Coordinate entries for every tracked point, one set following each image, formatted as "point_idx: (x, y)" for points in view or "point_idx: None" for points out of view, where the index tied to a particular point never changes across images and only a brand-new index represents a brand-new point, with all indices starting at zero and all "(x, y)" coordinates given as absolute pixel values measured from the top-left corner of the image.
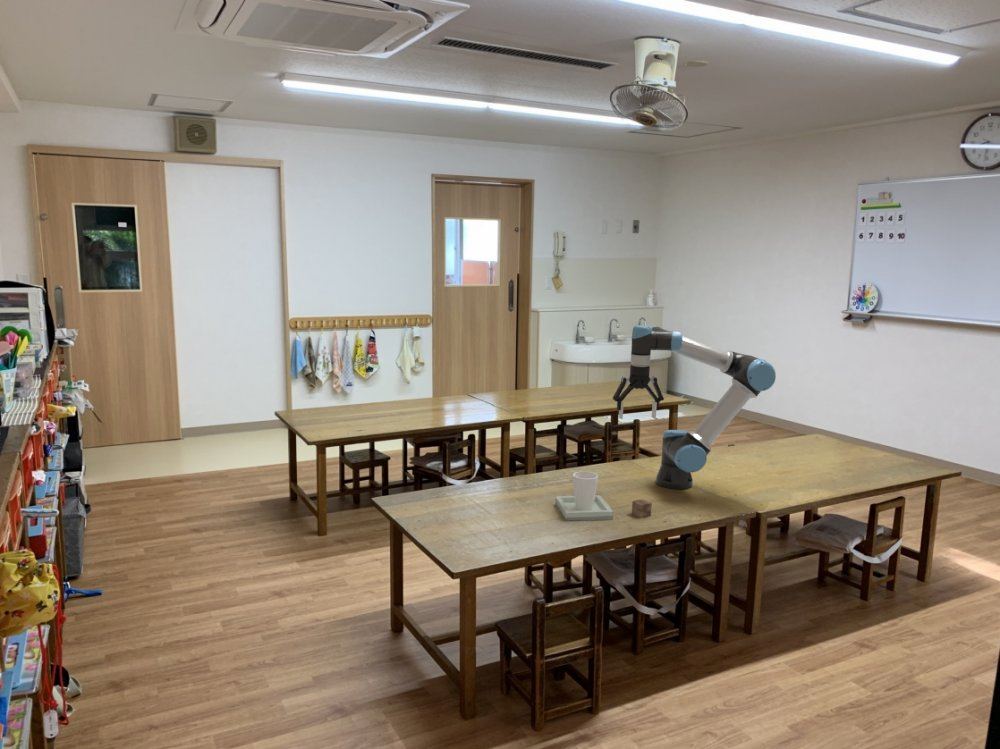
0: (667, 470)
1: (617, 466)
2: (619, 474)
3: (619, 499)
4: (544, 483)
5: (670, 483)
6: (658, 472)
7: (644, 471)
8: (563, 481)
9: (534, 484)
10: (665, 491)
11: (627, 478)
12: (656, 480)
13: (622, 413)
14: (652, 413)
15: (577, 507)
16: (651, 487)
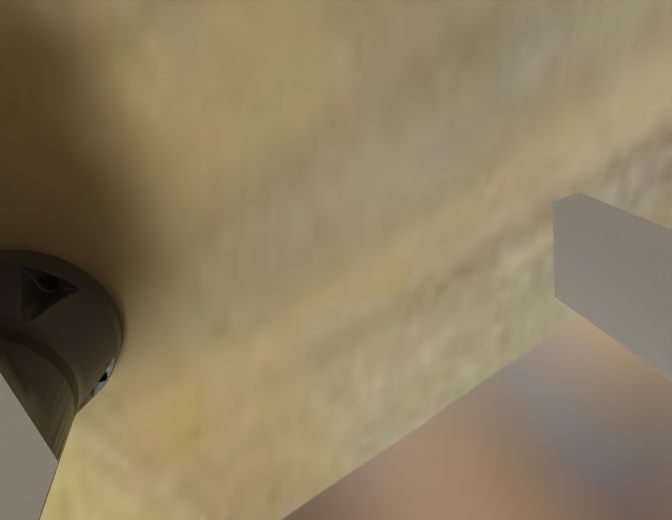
0: (38, 320)
1: (292, 470)
2: (289, 383)
3: (306, 34)
4: None
5: (33, 263)
6: (102, 349)
7: (179, 448)
8: (522, 243)
9: (636, 181)
10: (64, 205)
11: (256, 344)
12: (117, 321)
13: (628, 229)
14: (20, 495)
15: None
16: (141, 250)
